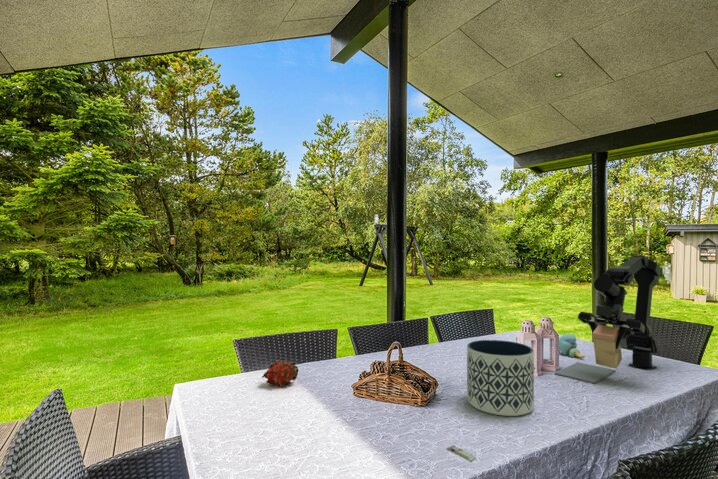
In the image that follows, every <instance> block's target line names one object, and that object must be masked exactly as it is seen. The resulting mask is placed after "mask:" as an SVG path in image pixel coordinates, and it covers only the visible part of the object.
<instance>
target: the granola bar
mask: <svg viewBox="0 0 718 479" xmlns="http://www.w3.org/2000/svg"><path fill="white" fill-rule="evenodd" d="M446 450H447V451H450V452H452V453H453V454H455V455H458V456H460V457H462V458H464V459H465V460H467V461H469V462H472V461H474V460H475V459H476V458H477V456H475V455H473V454H472V453H470V452H468V451H466V450H465V449H462V448H460V447H458V446H456V445H451V446H448V447H447V448H446Z"/></svg>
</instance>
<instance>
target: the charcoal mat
mask: <svg viewBox="0 0 718 479" xmlns="http://www.w3.org/2000/svg"><path fill="white" fill-rule="evenodd" d="M614 373H616V369H614V368H609V367H604V366H599V365H592V364H588V363H583V362H579V361H577V362H575V363H573V364H570V365H568V366H566V367H564V368H562V369H559V370H558V371H556V372H554V375H556V376H560V377H564V378H569V379H572V380H577V381H581V382H585V383H589V384H593V385H595V384H598V382H600V381H601V382H602V380H604V379H606V378H608V377H609V376H611V375H612V374H614Z"/></svg>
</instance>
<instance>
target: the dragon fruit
mask: <svg viewBox="0 0 718 479" xmlns="http://www.w3.org/2000/svg"><path fill="white" fill-rule="evenodd" d="M283 361H284V362H283ZM283 361H279V360H278V361H275V362H274V363H273V364H270V365H269V368H268V369H266V372H264V374H263V375H262V377H261V378H262V379H264V378H265V379H267V380H265V382H266V384H268V385H271V386H272V385H273V386H279V385H280V388H282V387H283V386H285V385H286V386H288V385H290V383H291V381H295V380H297V377H298V374H299V371H300V370H299V369H298V368H299V367H298V366H297V365H295V363H294V362H290V361H288V360H286V359H283Z"/></svg>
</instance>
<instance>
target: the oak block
mask: <svg viewBox="0 0 718 479" xmlns="http://www.w3.org/2000/svg"><path fill="white" fill-rule="evenodd" d="M618 334H619V327H617V326H609V325H606V324H598V326H597V328H596V329H595V330H594V332H593V334H592V341H593V348H594V349H593V350H594V359H595V364H596V365H597V366H601V367H605V368H610V369H614V370H616V369H618V367H619V365H620V364H621V362H622V360H623V355H622V354H623V353H622V347H621V346H622V344H621V345H620V347H619V348H618V349H616V342H617V338H618Z"/></svg>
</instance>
